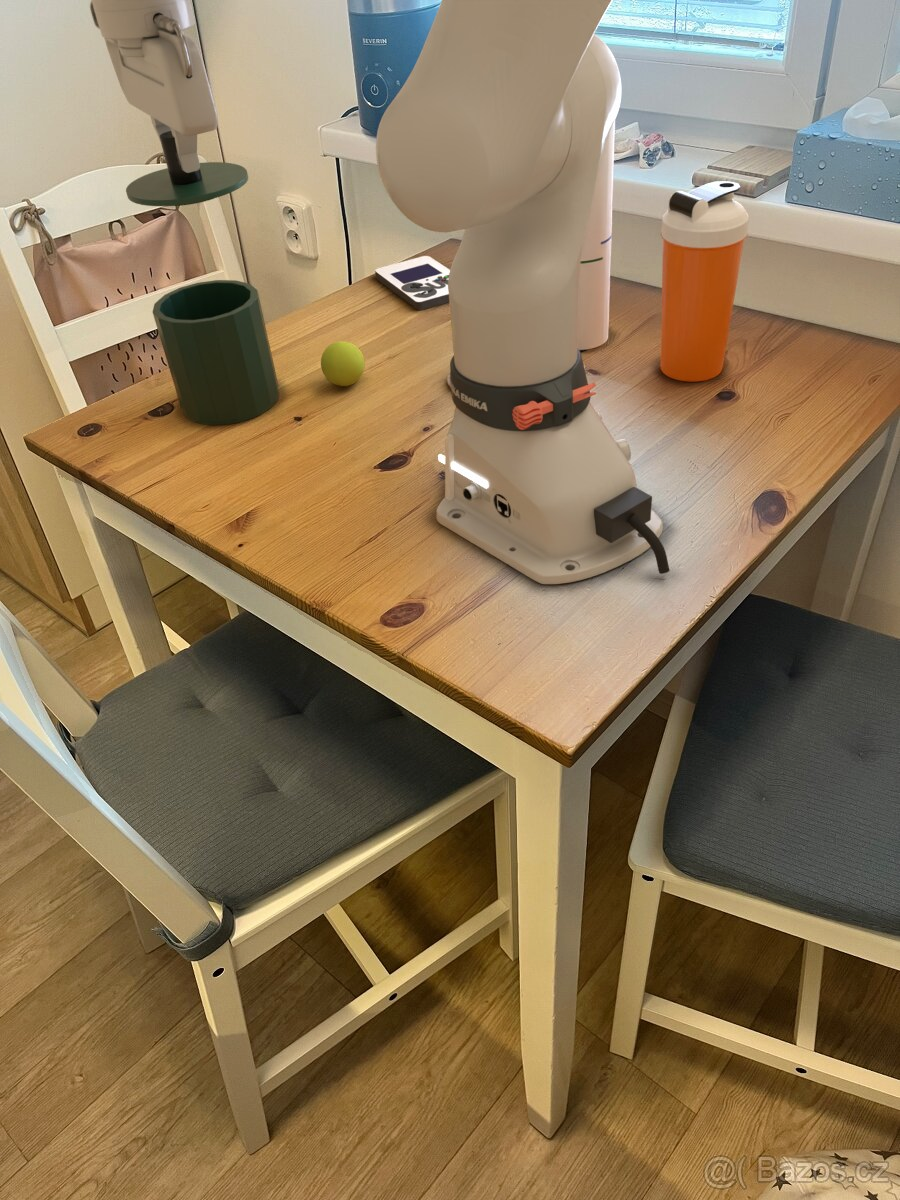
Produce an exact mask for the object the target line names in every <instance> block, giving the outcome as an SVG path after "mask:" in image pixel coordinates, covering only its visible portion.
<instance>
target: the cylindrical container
mask: <svg viewBox="0 0 900 1200" xmlns="http://www.w3.org/2000/svg"><path fill="white" fill-rule="evenodd" d="M615 132H616V120H615V121H614V123H613V125H612V127H611V130H610V132H609V134H608V137H607V140H606V142H605V146H604V149H603V152H602V156H601V161H600V165H599V170H598V175H597V180H596V185H595V190H594V195H593V200H592V205H591V210H590V215H589V219H588V224H587V229H586V234H585V239H584V244H583V250H582V256H581V263H580V272H579V292H578V343H577V348H578V350H579V351H584V350H591V349H595V348H598V347H601V346H603V345H604V344H605V343H606V342H607V341H608V339H609V323H610V293H611V291H610V288H611V263H612V262H611V260H612V259H611V258H612V234H613V232H612V230H613V198H614V197H613V196H614V166H615V165H614V164H615V163H614V162H615V137H616V135H615V134H616V133H615Z"/></svg>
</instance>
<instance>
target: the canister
mask: <svg viewBox="0 0 900 1200" xmlns="http://www.w3.org/2000/svg"><path fill="white" fill-rule="evenodd" d="M152 315H153V318H154V323H155V325H156V329H157V332H158V336H159V339H160V342H161V346H162V348H163V352H164V356H165V359H166V362H167V365H168V366H167V367H168V369H169V373H170V375H171V380H172V382H173V386H174V389H175V392H176V396H177V399H178V402H179V405H180V409H181V410H182V412H183V414H184V416H185V417H186V418H187V419H188V420H190V421H192V422H193V423H197V424H201V425H206V426H225V425H234V424H238V423H242V422H246V421H249V420H252V419H255V418H256V417H258V416H261V415H263V414H265V413H266V412H268V411H269V410H270V409H272V408H273V406H274V405H275V404H276V403H277V402H278V401H279V397H280V390H279V382H278V378H277V372H276V367H275V364H274V363H275V362H274V359H273V354H272V350H271V345H270V341H269V337H268V332H267V328H266V327H267V326H266V322H265V317H264V314H263V309H262V304H261V299H260V295H259V291H258V289H257V288H256V287H254V286H253V284H251V283H248V282H244V281H242V280H241V281H240V280H236V279H234V280H233V279H216V280H215V279H213V280H208V281H207V280H206V281H199V282H194V283H191V284H188V285H185V286H181V287H179V288H176V289H174V290H172V291H170V292H168V293H165V294H163V296H161V297H160V298H159V299H158V300H157V301H156V302H155V303H154V304H153V309H152Z"/></svg>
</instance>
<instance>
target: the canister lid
mask: <svg viewBox="0 0 900 1200" xmlns="http://www.w3.org/2000/svg"><path fill="white" fill-rule="evenodd" d="M159 137H160V139H159V142H160V141H161V142H160V144H161V148H162V152H163V156H164V160H165V163H166V168H162V169H159V170H155V171H152V172H149V173H147V174H145V175H142V176H140V177H138V178H137V179H134V180H133V181H131V182H130V183H129V184H128V185H127V187H126V188H125V193H126V197H127V199H128V200H129V202H132V203H134V204H137V205H141V206H147V207H180V206H181V207H182V206H190V205H195V204H201V203H205V202H208V201H211V200H214V199H217V198H220V197H223V196H226V195H228V194H230V193H234V192H235V191H237V190H238V189H241V188H242V187H243V186H245V185H246V184H247V182H248V181H249V175H248V173H249V172H248V170H247V169H246V168H245V167H244V166H242V165H239V164H236V163H232V162H221V161H208V162H207V161H206V162H199V163H200V169H199V170H198V171H194V172H190V173H187V172H184V171H183V170H182V169H180V167H179V164H178V160H177V157H176V153H175V152H177V148H176V143H175V137H173V135H172V132H171V131H168V132H165V133H162V134H161V135H160V136H159ZM159 137H158V138H159Z"/></svg>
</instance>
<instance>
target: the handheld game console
mask: <svg viewBox="0 0 900 1200" xmlns="http://www.w3.org/2000/svg"><path fill="white" fill-rule="evenodd" d="M374 272H375V273H374V274H375V279H376V280H377V281H378V282H380V283H381V284H382V285H383V286H385V287H386V288H387V289H389V290H390V291H391V292H393V293H394V294H395V295H397V296H398V297H399V298H401V299H402V300H404V301H405V302H406V303H407V304H409V305H410V306H411V307H413V308H414V309H415V310H417V311H424V310H427V309H431V308H434V307H437V306H440V305H444V304H449V291H448V279H449V273H450V268H448V267H446V266H445V265H443V264H441V263H440V262H439V261H437V260H436V259H434V258H433V257H431V256H429V255H422V256H418V257H416V258H411V259H407V260H403V261H400V262H397V263H392V264H389V265H385V266H382V267H378V268H376V269H374Z"/></svg>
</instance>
